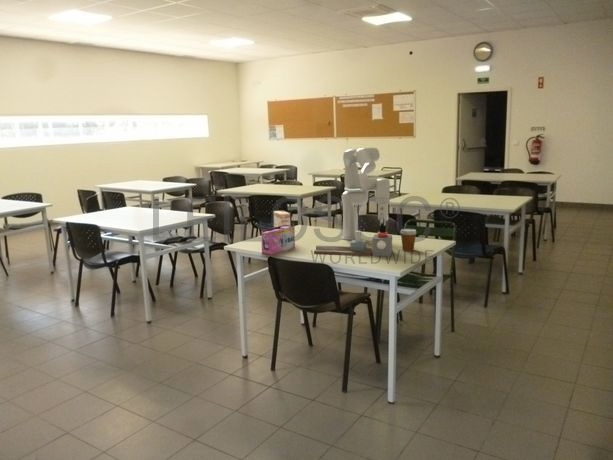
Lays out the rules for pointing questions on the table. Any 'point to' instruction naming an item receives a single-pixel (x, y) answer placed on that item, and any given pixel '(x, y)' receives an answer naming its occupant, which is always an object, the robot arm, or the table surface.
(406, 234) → the disposable coffee cup
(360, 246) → the carriage
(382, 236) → the gauge button
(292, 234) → the gum box
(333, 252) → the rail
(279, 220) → the coffeecake box
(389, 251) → the gauge cabinet
